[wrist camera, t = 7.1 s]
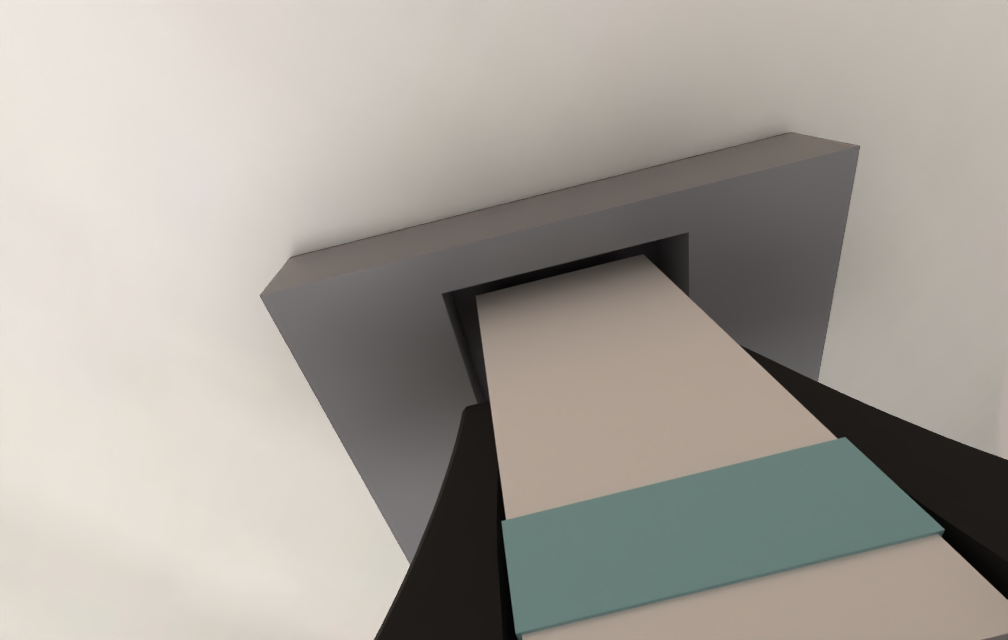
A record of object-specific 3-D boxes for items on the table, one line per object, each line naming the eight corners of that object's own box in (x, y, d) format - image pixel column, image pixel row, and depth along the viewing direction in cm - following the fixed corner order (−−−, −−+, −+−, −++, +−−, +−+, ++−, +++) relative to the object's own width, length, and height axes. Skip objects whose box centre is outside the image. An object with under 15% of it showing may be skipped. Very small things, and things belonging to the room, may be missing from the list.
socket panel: (791, 132, 10) (859, 145, 9) (750, 526, 18) (783, 575, 16) (290, 257, 11) (259, 295, 9) (458, 597, 18) (459, 653, 16)
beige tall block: (645, 251, 10) (1298, 858, 2) (653, 386, 12) (1022, 955, 4) (472, 294, 10) (565, 1031, 2) (509, 422, 12) (624, 1048, 5)
